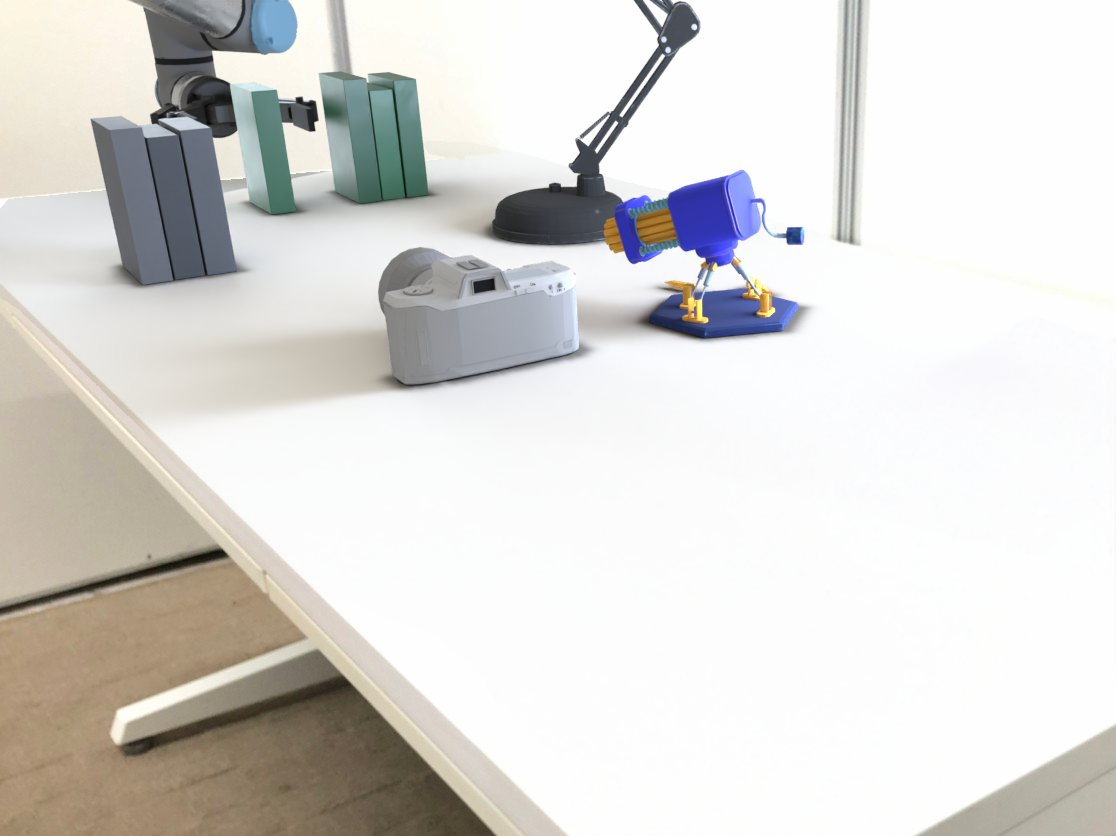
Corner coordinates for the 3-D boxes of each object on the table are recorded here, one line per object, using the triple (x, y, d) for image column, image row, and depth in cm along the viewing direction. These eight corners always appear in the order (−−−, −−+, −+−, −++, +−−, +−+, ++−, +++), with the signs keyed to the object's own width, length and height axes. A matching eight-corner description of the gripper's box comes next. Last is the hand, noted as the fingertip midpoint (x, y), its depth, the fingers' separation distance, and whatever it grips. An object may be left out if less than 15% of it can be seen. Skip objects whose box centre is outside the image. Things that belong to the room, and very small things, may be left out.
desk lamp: (394, 238, 145) (334, -233, 125) (546, 197, 164) (516, -217, 144) (564, 266, 133) (528, -250, 113) (706, 218, 152) (698, -229, 132)
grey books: (122, 266, 134) (90, 118, 128) (213, 253, 139) (186, 110, 132) (142, 285, 128) (109, 130, 121) (237, 271, 132) (210, 121, 126)
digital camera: (535, 359, 118) (550, 247, 115) (587, 400, 107) (605, 278, 103) (346, 342, 111) (357, 223, 107) (380, 385, 99) (392, 252, 96)
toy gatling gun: (701, 276, 129) (698, 144, 124) (842, 310, 118) (846, 167, 112) (590, 306, 120) (582, 165, 114) (732, 347, 109) (731, 193, 103)
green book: (249, 202, 163) (229, 83, 157) (273, 199, 164) (254, 81, 158) (271, 214, 156) (250, 91, 150) (296, 211, 158) (277, 89, 151)
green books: (335, 191, 168) (318, 72, 162) (402, 183, 173) (388, 67, 166) (359, 203, 162) (342, 80, 155) (429, 194, 166) (415, 74, 160)
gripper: (307, 126, 181) (359, 147, 165) (115, 144, 168) (152, 168, 153) (298, 68, 177) (351, 84, 162) (102, 82, 165) (139, 101, 149)
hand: (255, 125), depth 157 cm, fingers open, 13 cm apart
